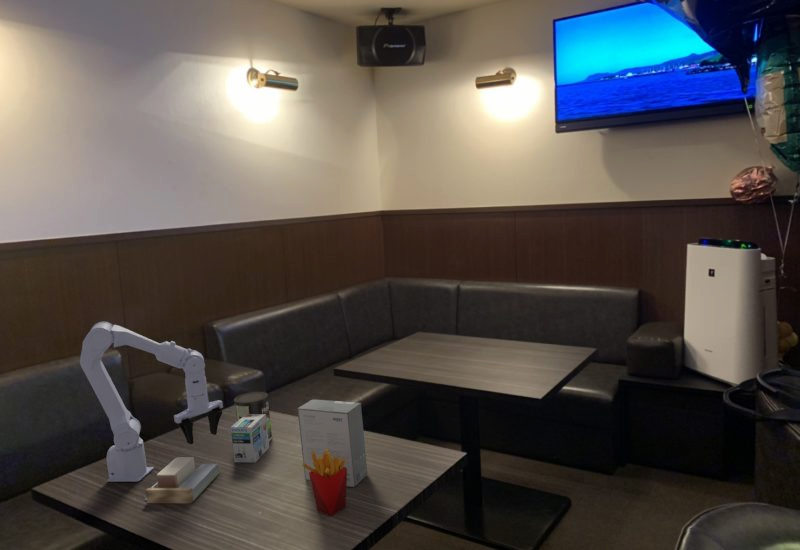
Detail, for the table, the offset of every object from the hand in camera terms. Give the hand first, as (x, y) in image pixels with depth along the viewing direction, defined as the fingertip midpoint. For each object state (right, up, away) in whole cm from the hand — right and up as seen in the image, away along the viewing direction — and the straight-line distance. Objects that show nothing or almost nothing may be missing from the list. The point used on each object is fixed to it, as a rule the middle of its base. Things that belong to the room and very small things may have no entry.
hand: (202, 438), depth 173 cm
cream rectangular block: (-2, -9, -14) cm, 17 cm away
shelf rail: (-1, -10, -22) cm, 24 cm away
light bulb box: (+14, -6, +3) cm, 15 cm away
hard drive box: (+41, -6, -15) cm, 44 cm away
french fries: (+41, -9, -32) cm, 53 cm away
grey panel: (-5, -9, -13) cm, 17 cm away
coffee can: (+12, -4, +13) cm, 19 cm away
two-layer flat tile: (+4, -9, -15) cm, 18 cm away
